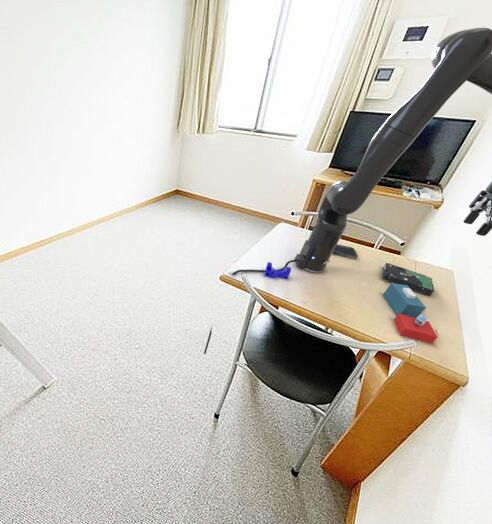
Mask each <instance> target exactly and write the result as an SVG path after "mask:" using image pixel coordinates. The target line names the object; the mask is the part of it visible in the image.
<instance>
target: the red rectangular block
mask: <svg viewBox="0 0 492 524" xmlns="http://www.w3.org/2000/svg"><path fill="white" fill-rule="evenodd" d="M393 322H394V324H395V326H396V328H397V331H398V333H399V335H400V336H403V337H405V338H409V339H412V340H416V341H419V342H423V343H427V344H433V343H434V342H435V341H436V340H437V339H438V335H437V333H436V332H435V330H434V328H433V326H432V324H431V323H430V321H428V320H427V317H426V315H419V316H418V317H417V318H414V317H410V316H406V315H402V314H398V315H397V314H396V316H395V317H394V318H393Z"/></svg>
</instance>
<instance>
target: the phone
mask: <svg viewBox="0 0 492 524" xmlns="http://www.w3.org/2000/svg"><path fill="white" fill-rule="evenodd" d="M332 255H336V256H340V257H344V258H350V259H354V260H355V259H357V257H358V253H357V251H356V249H355V248H354V247H352V246H347V245H342V244H339V243H337V245H336V247H335V249H334V251H333V253H332Z"/></svg>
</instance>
